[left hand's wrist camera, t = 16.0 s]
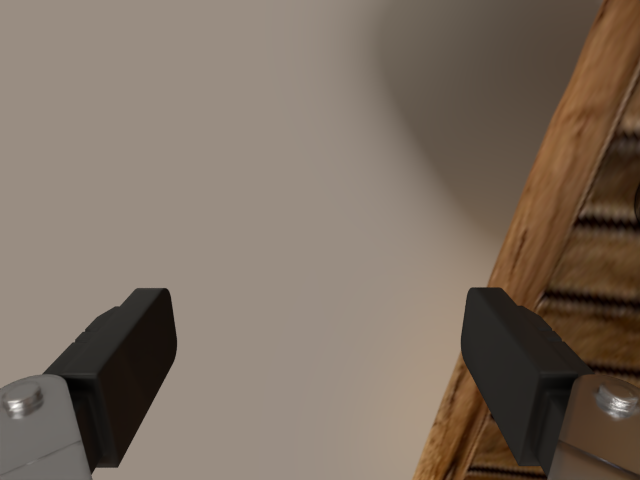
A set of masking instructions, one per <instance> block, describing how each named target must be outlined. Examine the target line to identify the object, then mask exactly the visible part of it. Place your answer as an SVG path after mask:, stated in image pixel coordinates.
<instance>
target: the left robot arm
mask: <svg viewBox="0 0 640 480" xmlns="http://www.w3.org/2000/svg"><path fill="white" fill-rule="evenodd" d="M635 210H636V215H637V218H638V220H639V222H640V186H639V189H638V191H637V195H636V201H635ZM176 351H177V336H176V329H175V322H174V315H173V308H172V302H171V296H170V292H169V291H168V289H166V288H137V289H135V290H134V291H133V293H132V294H131V295H130V296H129V297H128V298H127V299H126V300H125V301H124V302H123V304H122V305H121V306H120V307H114V308H112V309H110V310H108V311H107V312H105V313H103V314H102V315H100V316H98V317H97V318H96V319H95V320H94V321H93V322H92V323H91V324H90V325H89V326H88V327H87V328H86V329H85V332H82V333H81V334H80V335H79V336H78V337H77V339H76V340H75V343H72V344H71V345H70V346H69V347H68V348H67V349H66V350H65V351H64V352H63V353H62V354H61V355H60V356H59V357H58V358H57V359H56V360H55V361H54V362H53V363H52V364H51V366H50V367H49V368H48V369H47V370H46V371H45V372H44V373H43V374H42V375H35V376H30V377H27V378H23V379H20V380H17V381H15V382H12V383H10V384H8V385H6V386H4V387H2V388H0V480H92V476H91V475H92V473H93V471H94V470H95V468H117V467H118V466H119V464H120V462H121V461H122V459H123V457H124V455H125V453H126V451H127V449H128V447H129V445H130V444H131V441H132V440H133V438H134V436H135V434H136V432H137V430H138V428H139V426H140V425H141V423H142V421H143V419H144V417H145V415H146V413H147V411H148V410H149V408H150V406H151V404H152V402H153V400H154V398H155V396H156V394H157V393H158V391H159V389H160V387H161V385H162V383H163V381H164V379H165V377H166V375H167V374H168V372H169V370H170V368H171V366H172V364H173V362H174V360H175V356H176ZM461 351H462V356H463V359H464V362H465V364H466V366H467V368H468V370H469V371H470V373H471V375H472V377H473V379H474V381H475V383H476V385H477V387H478V389H479V391H480V392H481V394H482V396H483V398H484V400H485V402H486V404H487V406H488V408H489V410H490V412H491V414H492V415H493V417H494V419H495V421H496V423H497V425H498V427H499V429H500V431H501V433H502V435H503V436H504V438H505V440H506V442H507V444H508V446H509V448H510V450H511V452H512V454H513V456H514V457H515V459H516V461H517V463H518V465H519V466H541V467H542V469H543V471H544V472H545V474H546V476H547V478H548V480H640V388H638V387H636V386H634V385H632V384H630V383H628V382H625V381H623V380H620V379H617V378H614V377H610V376H605V375H598V374H595V373H594V372H593V371H592V370H591V369H590V368H589V367H588V366H587V365H586V364H585V363H584V362H583V361H582V360H581V359H580V358H579V357H578V355H577V354H576V353H575V352H574V351H573V350H572V349H571V348H570V347H569V346H568V345H567V344H566V343H565V342H562V339H561V338H560V337H559V336H558V335H557V333H556V332H555V331H552V328H551V327H550V326H549V325H548V324H547V323H546V322H545V321H544V320H543V319H542V318H541V317H540V316H539V315H537V314H535V313H534V312H532V311H530V310H528V309H527V308H525V307H523V306H517V305H516V304H515V302H514V301H513V300H512V299H511V298H510V297H509V296H508V295H507V294H506V292H505V291H504V290H503V289H502V288H470V289H469V291H468V294H467V299H466V306H465V313H464V320H463V327H462V334H461Z"/></svg>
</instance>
